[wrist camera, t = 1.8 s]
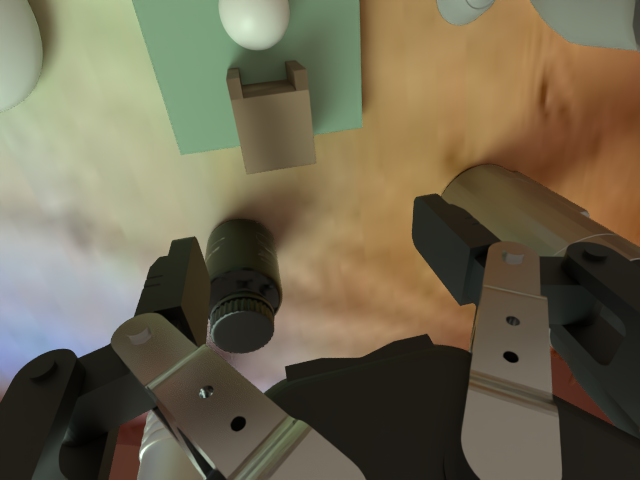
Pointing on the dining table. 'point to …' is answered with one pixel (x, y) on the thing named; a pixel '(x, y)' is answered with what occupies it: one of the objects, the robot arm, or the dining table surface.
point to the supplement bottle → (242, 285)
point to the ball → (255, 21)
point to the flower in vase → (18, 52)
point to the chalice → (568, 19)
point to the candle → (163, 455)
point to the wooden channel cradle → (273, 120)
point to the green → (250, 65)
